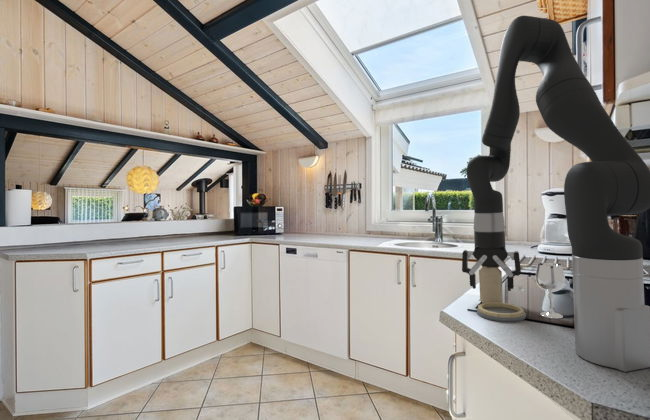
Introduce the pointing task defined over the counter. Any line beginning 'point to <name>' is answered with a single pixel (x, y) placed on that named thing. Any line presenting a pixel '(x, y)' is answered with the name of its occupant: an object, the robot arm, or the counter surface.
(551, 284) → the wineglass
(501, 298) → the candle
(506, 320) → the beige ring
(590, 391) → the counter surface
